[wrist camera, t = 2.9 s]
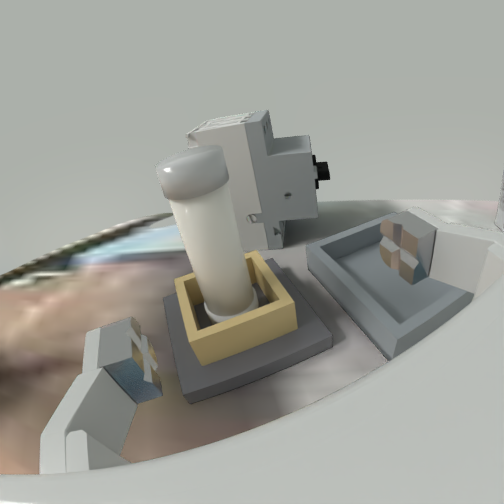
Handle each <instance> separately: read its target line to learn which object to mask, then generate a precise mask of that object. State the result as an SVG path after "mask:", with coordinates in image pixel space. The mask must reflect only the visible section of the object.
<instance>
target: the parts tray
mask: <svg viewBox="0 0 504 504" xmlns="http://www.w3.org/2000/svg"><path fill="white" fill-rule="evenodd" d="M395 215H397V213H396V212H392V213H390V214H387V215H385V216H382V217H379V218H377V219H374V220H372V221H369V222H366V223H364V224H361V225H358V226H356V227H353V228H351V229H348V230H345V231H343V232H340V233H337V234H335V235H332V236H329V237H327V238H324V239H321V240H319V241H316V242H313V243H311V244H308V245H306V254H307V264H308V270H309V271H310V272H311V273H312V274H313V275H314V276H315V278H316V279H317V280H318V281H319V282H320V283H321V284H322V285H323V286H324V288H325V289H326V290H327V291H328V292H329V293H330V294H331V295H332V297H333V298H334V299H335V300H336V301H337V302H338V303H339V304H340V306H341V307H342V308H343V309H344V310H345V311H346V312H347V314H348V315H349V316H350V317H351V318H352V319H353V320H354V322H355V323H356V324H357V325H358V326H359V327H360V328H361V330H362V331H363V332H364V333H365V334H366V335H367V336H368V338H369V339H370V340H371V341H372V342H373V343H374V345H375V346H376V347H377V348H378V349H379V350H380V352H381V353H382V354H383V355H384V356H385V357H386V359H387V360H388V361H390V360H392V359H393V358H395V357H397V356H398V355H400V354H401V353H403V352H404V351H406V350H407V349H409V348H410V347H412V346H413V345H415V344H416V343H418V342H419V341H421V340H422V339H424V338H425V337H426V336H428V335H429V334H431V333H432V332H433V331H435V330H436V329H438V328H439V327H440V326H442V325H443V324H444V323H446V322H447V321H448V320H450V319H451V318H452V317H454V316H455V315H456V314H457V313H459V312H460V311H461V310H462V309H464V308H465V307H466V306H467V305H469V304H470V303H471V302H472V299H473V297H474V293H471V292H468V291H466V290H463V289H460V288H457V287H455V286H452V285H449V284H446V283H444V282H441V281H438V280H435V279H432V278H429V276H428V277H427V278H425V279H423V280H421V281H419V282H418V283H416V284H414V285H410V284H409V283H408V282H407V281H406V280H404V279H403V278H402V277H401V276H399V272H398V270H396V269H392V268H390V267H388V266H387V265H386V264H385V262H384V261H383V260H382V257H381V254H380V242H381V240H382V238H383V235H382V234H381V233H380V225H381V223H382V221H383V220H385V219H387V218H390V217H392V216H395Z"/></svg>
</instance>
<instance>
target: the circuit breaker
mask: <svg viewBox="0 0 504 504" xmlns="http://www.w3.org/2000/svg"><path fill="white" fill-rule="evenodd" d="M186 138H188V145H189V148H188V149H192V148H196V147H201V146H209V145H218V146H221V147H222V148H223V152H224V156H225V161H226V165H227V169H228V174H229V180H228V182H227V183H228V187H229V192H230V196H231V200H232V204H233V209H234V213H235V217H236V221H237V225H238V230H239V234H240V238H241V242H242V246H243V251H254V250H272V249H282V248H283V241H284V233H285V224H286V220H296V219H308V218H318V208H317V197H316V189H319V183H318V181H320V180H330V174H329V169H328V164H327V162H316V157H315V155H312V151H311V143H310V136H309V135H304V136H294V137H284V138H275V139H274V138H273V132H272V126H271V122H270V115H269V111H268V110H265V111H258V112H252V113H245V114H239V115H233V116H227V117H222V118H217V119H214V120H209V121H208V120H207V121H205V122H203V123H202V124H200V125H199V126H198V127H196V128H195V129H193V130H192V131H190V132H189V133H187V134H186Z"/></svg>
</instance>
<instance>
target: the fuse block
mask: <svg viewBox="0 0 504 504" xmlns="http://www.w3.org/2000/svg"><path fill="white" fill-rule="evenodd" d="M244 255H245V259H246V263H247V267H248V271H249V275H250V280H251V284H252V287H253V288H254V289H255V291H256V294H257V298H258V302H259V307H260V308H257V309H255V310H252V311H249V312H247V313H244V314H242V315H239V316H236V317H234V318H231V319H228V320H226V321H223V322H220V323H218V324H215V325H211V322H210V320H209V317H208V315H207V312H206V310H205V307H204V298H203V295H202V293H201V290H200V287H199V285H198V282H197V279H196V277H195V274H194V272H193V273H190V274H187V275H185V276H182V277H179V278H176V279H174V282H175V287H176V291H177V293H175V294H172V295H169V296H167V297H164V298H163V301H164V307H165V312H166V318H167V323H168V329H169V334H170V339H171V344H172V349H173V354H174V358H175V363H176V368H177V372H178V376H179V381H180V385H181V389H182V393H183V396H184V397H185V398H186V400H187V401H188V402H189V404H192V403H195V402H198V401H201V400H204V399H207V398H210V397H213V396H216V395H218V394H221V393H224V392H227V391H230V390H232V389H235V388H238V387H240V386H243V385H246V384H248V383H251V382H253V381H256V380H258V379H261V378H263V377H266V376H268V375H271V374H273V373H276V372H278V371H280V370H283V369H285V368H287V367H290V366H292V365H294V364H296V363H299V362H301V361H303V360H305V359H308V358H310V357H312V356H314V355H316V354H318V353H320V352H323V351H325V350H327V349H329V348H331V347H332V334H331V333H330V331H329V330H328V329H327V327H326V326H325V325H324V324H323V322H322V321H321V320H320V318H319V317H318V316H317V314H316V313H315V312H314V311H313V309H312V308H311V307H310V305H309V304H308V303H307V302H306V300H305V299H304V298H303V296H302V295H301V294H300V293H299V291H298V290H297V289H296V287H295V286H294V285H293V284H292V282H291V281H290V280H289V278H288V277H287V276H286V275H285V273H284V272H283V271H282V269H281V268H280V267H279V266H278V264H277V263H276V262H275V261H274V259H273V258H271V259H268V260H266V261H264V260H263V258H262V257H261V256H260V254H259V253H258V251H257V250H254V251H251V252H249V253H246V254H244Z"/></svg>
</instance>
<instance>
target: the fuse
mask: <svg viewBox="0 0 504 504" xmlns="http://www.w3.org/2000/svg"><path fill="white" fill-rule="evenodd" d="M155 168H156V171H157V175H158V178H159V181H160V184H161V187H162V190H163V193H164V196H165V198H167V199H169V202H170V205H171V208H172V211H173V214H174V217H175V220H176V223H177V226H178V229H179V232H180V235H181V238H182V241H183V243H184V246H185V249H186V252H187V255H188V258H189V260H190V263H191V266H192V269H193V271H194V274H195V277H196V279H197V282H198V285H199V287H200V290H201V293H202V295H203V298H204V307H205V310H206V312H207V315H208V317H209V320H210V322H211V325H215V324H218V323H220V322H223V321H226V320H228V319H231V318H234V317H236V316H239V315H242V314H244V313H247V312H249V311H252V310H255V309H257V308H260V307H259V302H258V298H257V294H256V291H255V289H254V288H253V287H252V284H251V280H250V275H249V271H248V267H247V263H246V259H245V255H244V251H243V246H242V242H241V238H240V234H239V230H238V225H237V221H236V217H235V213H234V209H233V204H232V200H231V196H230V192H229V187H228V183H227V182H228V180H229V174H228V169H227V165H226V161H225V156H224V152H223V148H222V147H221V146H218V145H209V146H201V147H196V148H192V149H188V150H185V151H182V152H179V153H176V154H173V155H171V156H169V157H167V158H165V159H163V160H161V161H160V162H159V163H157V164H156V166H155Z"/></svg>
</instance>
